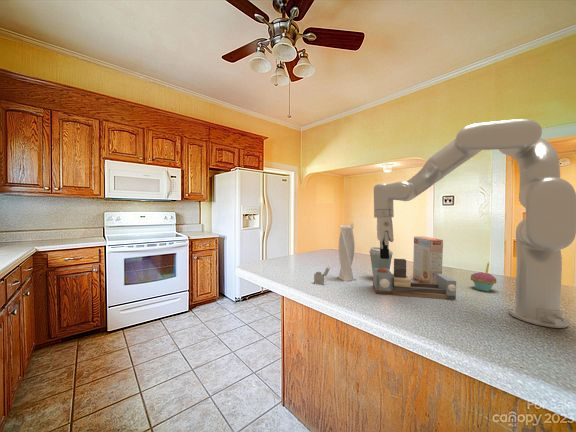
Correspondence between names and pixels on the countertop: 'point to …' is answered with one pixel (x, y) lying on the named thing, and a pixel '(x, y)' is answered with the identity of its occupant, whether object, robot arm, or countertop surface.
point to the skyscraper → (346, 252)
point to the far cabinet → (383, 280)
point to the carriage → (400, 274)
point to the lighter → (320, 276)
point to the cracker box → (427, 259)
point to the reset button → (382, 270)
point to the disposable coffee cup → (379, 259)
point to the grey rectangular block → (446, 284)
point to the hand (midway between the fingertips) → (384, 258)
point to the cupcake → (483, 280)
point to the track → (418, 291)
